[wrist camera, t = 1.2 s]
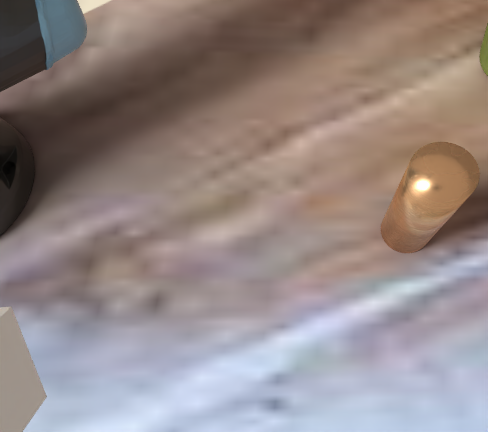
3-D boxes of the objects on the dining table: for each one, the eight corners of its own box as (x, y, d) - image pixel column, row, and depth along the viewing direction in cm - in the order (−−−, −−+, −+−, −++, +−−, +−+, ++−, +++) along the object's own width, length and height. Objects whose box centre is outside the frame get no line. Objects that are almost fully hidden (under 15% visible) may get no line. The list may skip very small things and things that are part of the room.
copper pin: (371, 232, 38) (394, 176, 27) (400, 199, 39) (434, 130, 28) (410, 262, 37) (452, 216, 26) (440, 227, 37) (493, 167, 26)
